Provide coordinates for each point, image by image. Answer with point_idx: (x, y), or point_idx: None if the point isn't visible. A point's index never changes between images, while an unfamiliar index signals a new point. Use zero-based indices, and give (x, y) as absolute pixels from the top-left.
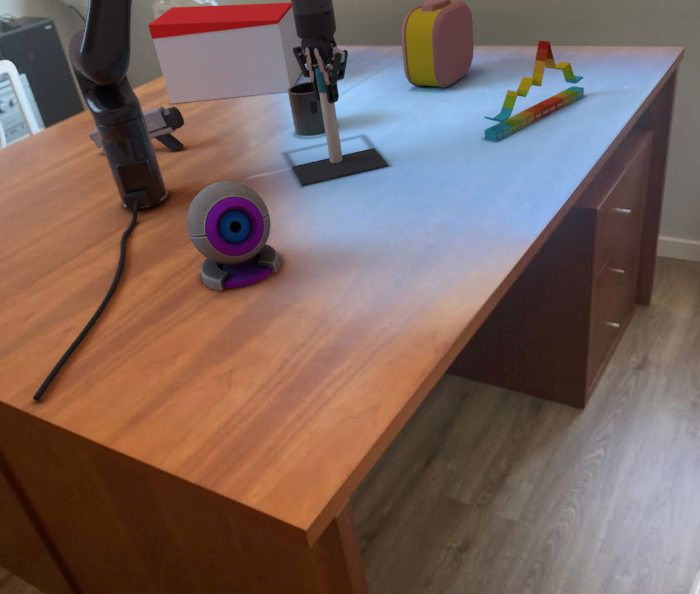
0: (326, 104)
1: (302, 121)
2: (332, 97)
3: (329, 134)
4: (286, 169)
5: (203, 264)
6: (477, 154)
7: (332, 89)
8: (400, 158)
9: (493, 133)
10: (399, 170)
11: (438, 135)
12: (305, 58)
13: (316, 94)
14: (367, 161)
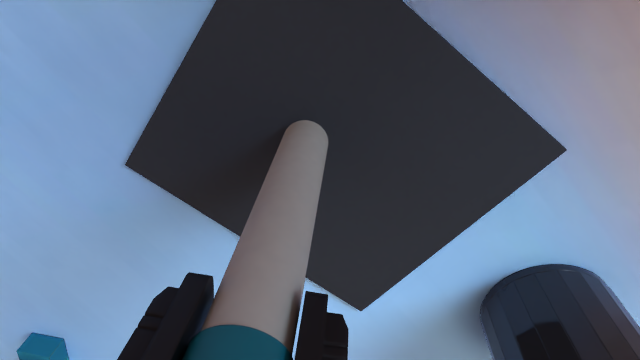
0: (236, 268)
1: (574, 308)
2: (162, 304)
3: (279, 171)
4: (467, 20)
5: None
6: (3, 276)
7: (123, 351)
8: (144, 215)
9: (26, 349)
10: (76, 148)
11: None
12: None
13: (307, 322)
14: (200, 165)
